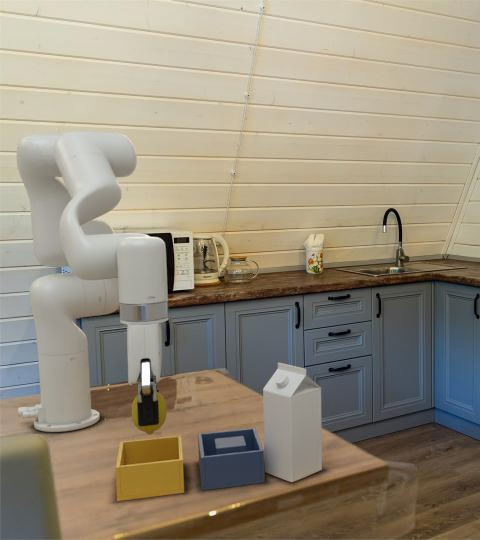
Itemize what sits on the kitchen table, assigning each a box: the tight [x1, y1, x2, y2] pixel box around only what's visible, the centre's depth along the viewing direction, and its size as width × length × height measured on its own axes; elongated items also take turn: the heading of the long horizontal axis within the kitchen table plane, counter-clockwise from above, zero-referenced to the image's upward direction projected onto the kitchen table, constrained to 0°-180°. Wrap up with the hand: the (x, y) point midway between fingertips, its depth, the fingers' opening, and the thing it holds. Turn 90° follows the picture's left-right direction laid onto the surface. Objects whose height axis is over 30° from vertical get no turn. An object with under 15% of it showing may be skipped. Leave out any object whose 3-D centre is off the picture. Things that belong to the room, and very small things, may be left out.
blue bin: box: [197, 427, 266, 491], centre depth 126 cm, size 10×12×6 cm
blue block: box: [214, 436, 246, 455], centre depth 126 cm, size 5×5×5 cm
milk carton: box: [262, 362, 323, 483], centre depth 126 cm, size 7×7×19 cm
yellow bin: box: [115, 435, 185, 502], centre depth 122 cm, size 10×12×6 cm
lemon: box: [131, 391, 168, 436], centre depth 121 cm, size 6×6×8 cm
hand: (149, 418), depth 121 cm, fingers closed on lemon, 5 cm apart
